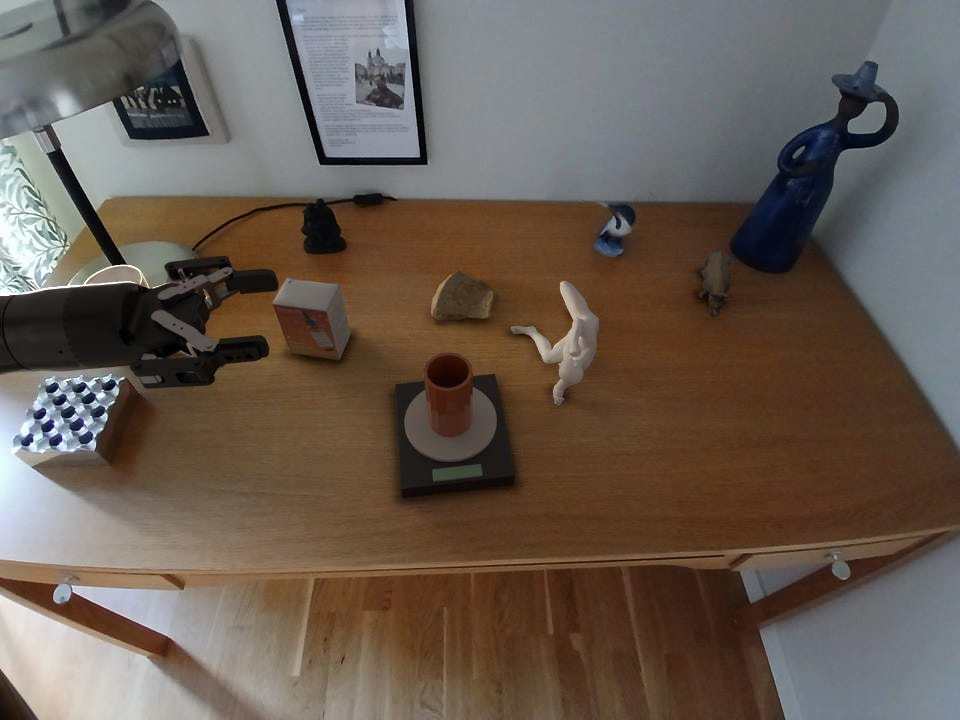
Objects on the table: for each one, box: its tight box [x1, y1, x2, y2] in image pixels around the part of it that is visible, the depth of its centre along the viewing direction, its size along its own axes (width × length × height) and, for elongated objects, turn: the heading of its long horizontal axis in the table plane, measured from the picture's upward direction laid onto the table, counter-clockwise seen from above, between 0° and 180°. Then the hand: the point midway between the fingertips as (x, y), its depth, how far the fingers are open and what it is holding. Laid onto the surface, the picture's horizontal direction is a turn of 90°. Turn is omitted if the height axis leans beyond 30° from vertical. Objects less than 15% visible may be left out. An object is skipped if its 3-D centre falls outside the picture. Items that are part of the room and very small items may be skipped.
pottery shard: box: [430, 270, 498, 322], centre depth 89 cm, size 11×4×10 cm
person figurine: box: [510, 280, 600, 407], centre depth 80 cm, size 13×13×18 cm
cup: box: [422, 351, 474, 437], centre depth 69 cm, size 6×6×10 cm
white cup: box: [83, 264, 151, 288], centre depth 82 cm, size 8×8×10 cm
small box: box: [271, 277, 352, 361], centre depth 80 cm, size 8×6×10 cm
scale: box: [394, 373, 516, 499], centre depth 73 cm, size 16×14×3 cm
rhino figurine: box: [698, 250, 731, 318], centre depth 90 cm, size 4×14×6 cm, turn 165°
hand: (272, 311), depth 51 cm, fingers open, 8 cm apart
